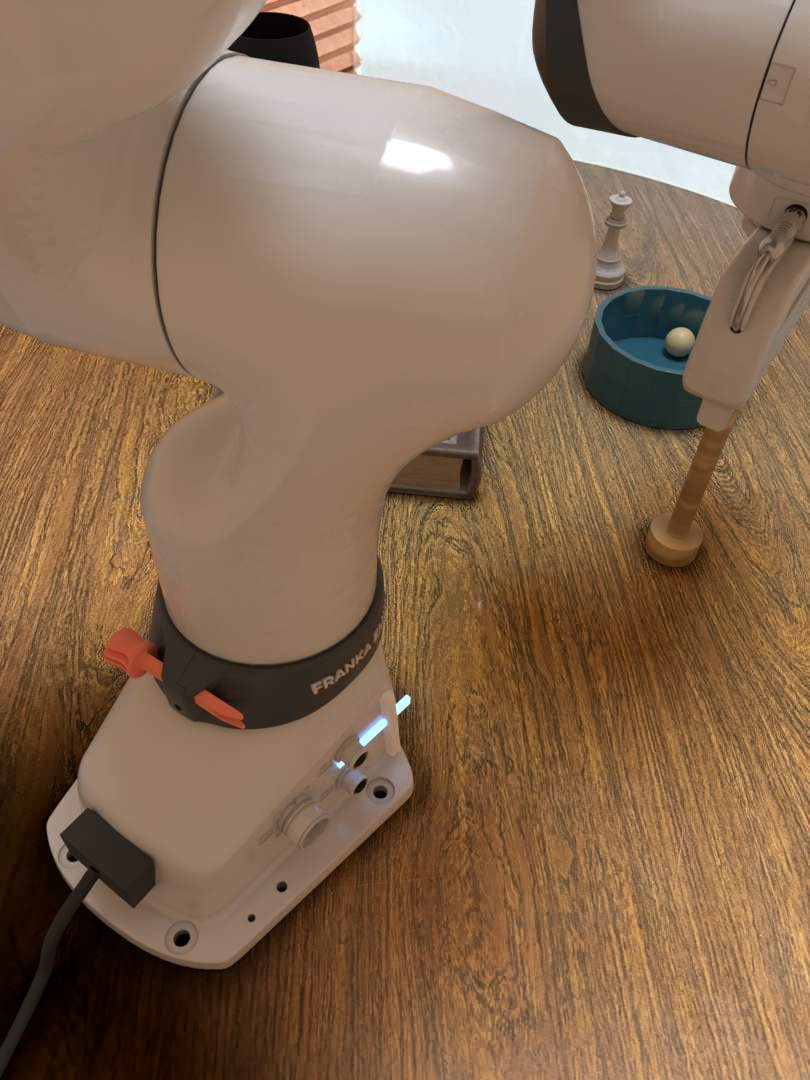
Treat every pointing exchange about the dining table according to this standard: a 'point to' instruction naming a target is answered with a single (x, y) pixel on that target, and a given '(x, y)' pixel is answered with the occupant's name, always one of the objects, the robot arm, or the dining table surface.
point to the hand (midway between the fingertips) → (737, 383)
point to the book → (440, 467)
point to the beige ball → (679, 341)
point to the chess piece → (612, 245)
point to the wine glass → (279, 40)
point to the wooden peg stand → (687, 506)
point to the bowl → (644, 355)
